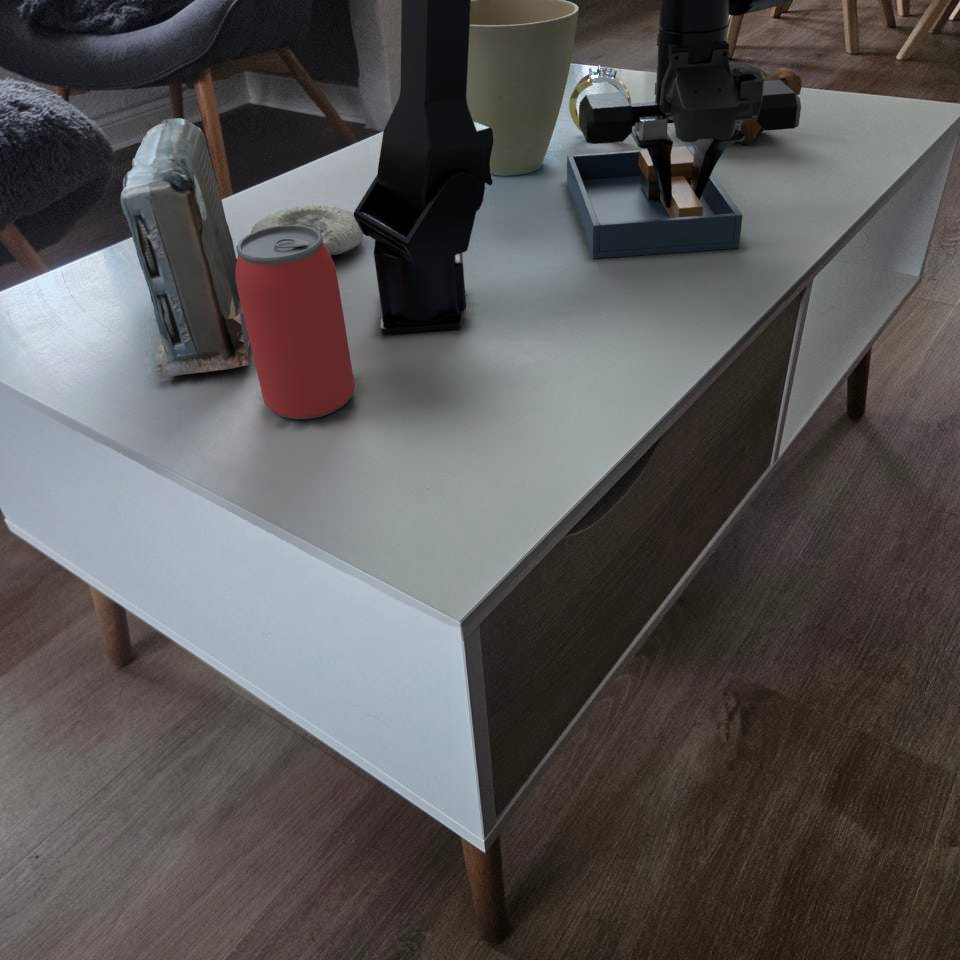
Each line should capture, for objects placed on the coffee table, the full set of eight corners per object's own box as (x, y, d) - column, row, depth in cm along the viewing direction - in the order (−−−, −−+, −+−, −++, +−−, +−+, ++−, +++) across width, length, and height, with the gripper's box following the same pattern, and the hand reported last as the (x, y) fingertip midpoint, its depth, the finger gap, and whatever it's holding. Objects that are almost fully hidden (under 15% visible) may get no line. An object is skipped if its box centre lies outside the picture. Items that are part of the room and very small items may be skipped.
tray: (592, 259, 83) (593, 225, 81) (566, 184, 98) (566, 155, 97) (738, 248, 83) (742, 215, 81) (690, 175, 99) (692, 146, 97)
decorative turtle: (788, 153, 102) (792, 78, 97) (656, 149, 109) (654, 78, 104) (808, 123, 108) (814, 51, 103) (683, 121, 115) (682, 53, 110)
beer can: (339, 427, 64) (310, 263, 56) (250, 420, 65) (210, 260, 58) (367, 377, 69) (343, 222, 62) (284, 372, 70) (251, 220, 63)
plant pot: (540, 196, 96) (537, 29, 87) (420, 178, 102) (405, 21, 93) (599, 152, 106) (602, -2, 97) (486, 138, 113) (479, -8, 103)
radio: (186, 260, 88) (143, 97, 79) (277, 252, 88) (244, 88, 79) (134, 388, 70) (69, 193, 60) (249, 377, 70) (202, 182, 61)
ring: (631, 136, 110) (634, 64, 105) (624, 144, 108) (627, 71, 103) (574, 133, 112) (574, 62, 107) (567, 141, 110) (567, 69, 105)
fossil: (278, 241, 80) (220, 226, 87) (290, 281, 82) (232, 264, 89) (378, 200, 86) (316, 190, 93) (386, 239, 88) (325, 226, 95)
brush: (715, 228, 85) (719, 192, 83) (663, 232, 85) (665, 196, 83) (684, 179, 95) (686, 145, 93) (637, 182, 95) (638, 149, 93)
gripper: (597, 57, 72) (594, 247, 81) (837, 38, 72) (806, 230, 81) (578, 26, 81) (577, 200, 90) (791, 9, 81) (768, 186, 90)
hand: (680, 205), depth 88 cm, fingers closed on brush, 2 cm apart
